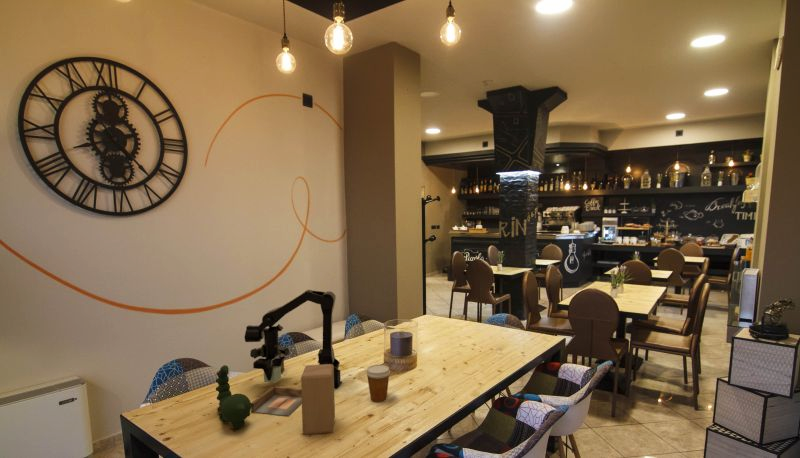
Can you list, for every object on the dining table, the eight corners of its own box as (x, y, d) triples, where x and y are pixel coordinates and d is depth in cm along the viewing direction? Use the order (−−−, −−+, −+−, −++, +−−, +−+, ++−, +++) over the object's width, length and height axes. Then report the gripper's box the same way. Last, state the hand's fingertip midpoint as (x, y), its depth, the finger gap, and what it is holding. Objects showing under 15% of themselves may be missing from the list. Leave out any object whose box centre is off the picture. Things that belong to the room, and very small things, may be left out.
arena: (307, 397, 158) (307, 389, 158) (288, 416, 143) (288, 407, 143) (273, 394, 162) (273, 385, 162) (251, 412, 147) (250, 403, 147)
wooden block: (306, 420, 141) (305, 364, 140) (335, 418, 142) (333, 362, 141) (302, 435, 131) (300, 375, 130) (332, 433, 132) (331, 374, 131)
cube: (281, 378, 170) (280, 366, 170) (274, 383, 165) (274, 370, 165) (270, 377, 171) (270, 365, 171) (264, 382, 166) (263, 369, 166)
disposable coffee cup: (372, 406, 150) (371, 375, 149) (362, 396, 158) (362, 366, 158) (395, 400, 154) (394, 370, 154) (384, 391, 163) (383, 362, 162)
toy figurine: (210, 417, 147) (229, 440, 128) (207, 366, 148) (226, 380, 129) (236, 409, 153) (259, 429, 134) (233, 359, 154) (255, 372, 135)
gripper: (266, 333, 179) (268, 368, 179) (240, 347, 160) (242, 385, 161) (289, 334, 176) (290, 369, 176) (265, 348, 158) (266, 387, 158)
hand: (272, 377), depth 168 cm, fingers closed on cube, 5 cm apart
